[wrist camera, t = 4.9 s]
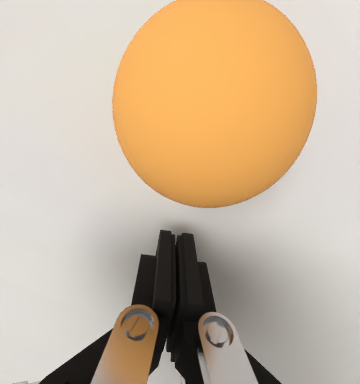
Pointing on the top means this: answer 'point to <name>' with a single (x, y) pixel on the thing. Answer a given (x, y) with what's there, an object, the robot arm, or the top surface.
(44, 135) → the top surface
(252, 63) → the ball
